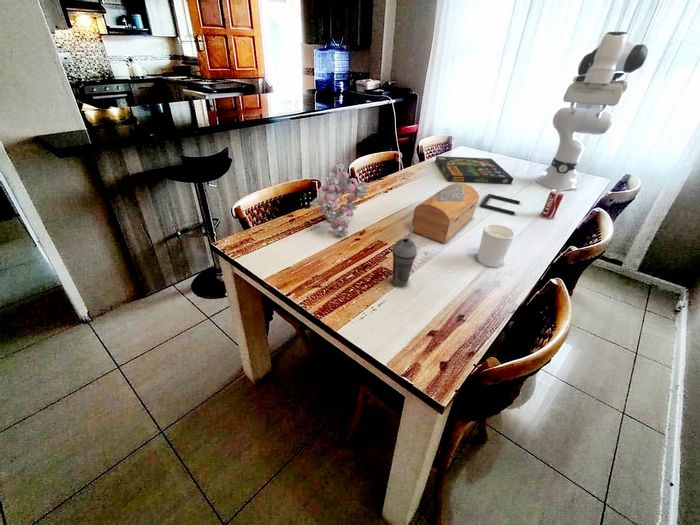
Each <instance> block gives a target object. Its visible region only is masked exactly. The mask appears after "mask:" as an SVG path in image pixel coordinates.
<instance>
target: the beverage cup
mask: <svg viewBox="0 0 700 525" xmlns="http://www.w3.org/2000/svg"><path fill="white" fill-rule="evenodd" d="M412 234H413V226H412V225H411V229H410V232H409V235H408V238H401V239H399V240H398V241H396V242H395V244H394V246H393V247H392V284H393V285H394V286H395V287H398V288H405V287H406V286H407V285H408V282H409V279H410V276H411V272H412V268H413V265H414V261H415V259H416V257H417V255H418V249H417V245H416V244H415V243H414V241H413V240H411V238H412Z"/></svg>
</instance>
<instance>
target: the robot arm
mask: <svg viewBox="0 0 700 525" xmlns="http://www.w3.org/2000/svg"><path fill="white" fill-rule="evenodd" d="M628 36H629V33H628V32H626V31H608V32H606V33H605V34H604V35H603V37H602V39H601V41H600V42H599V44H598V46H597V47H596V48H595V49H593V50H592V52H590V53H587V54H586V55H585V56H583V58H582V59H581V60H580V61H579V63H578V65H577V74H578V75H576V76H574V77H573V78H572V83H571V84H569V86H568V87H567V89H566V90H565V93H564V95H563V98H562V100H563V102H565V103H570V104H569V105H570V106H569V107H561V108H560V109H558V110H557V111H556V112H555V114H554V116H553V117H552V126H553V128H554V129H555V130H556V132H557V133H558V137H559V144H558V148H557V150H556V153H555V155H554V157H553V158H552V161H551V164H550V166H548V167H546V168H545V170H544V172H543V175H542V176H541V177H540V178H538V179H537V180H536V181H537V183H538V184H541V185H543V187H544V186H545V187H547V188H548V189H552V190H560V191H569V190H570V191H572V190H574V191H575V190H576V186H575V184H576V183H577V180H576V178H577V175H578V173H577V171H576V169H577V168H578V166H579V161H580V159H581V156H582V154H583V151H584V149H585V146H584V144H583V143H582V142H581V140H579V139H578V138H577V137H576V135H575V134H584V135H591V136H601V135H602V136H603V135H606V134H607V133H609V132H610V130H611V129H612V128H613V127H614V124H615V116H614V114H613V113H612V112H610V111H608V109H607V108H608V107H609V106H610V107H617V106H619V105H620V103H621V100H622V98H623V94H624V93H625V92H626V91H627V88H628V85H629V84H628V82H627V81H626V80H624V79H622V78H624V77H625V76H626V74H629V75H631V74H634V73H636V72H637V71H639V70H641V68H642V67H643V65H644V64H645V62H646V61H647V58H648V53H649V49H648V47H647V45H645V44H633V43H631V42H629V41H627V40H628ZM574 106H575V107H574ZM574 183H575V184H574Z"/></svg>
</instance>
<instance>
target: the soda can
mask: <svg viewBox="0 0 700 525" xmlns="http://www.w3.org/2000/svg"><path fill="white" fill-rule="evenodd" d="M563 198H564V191H563V190H557V189H551V191H550V192H549V195H548V196H547V199H546V201H545V204H544V206H543V209H542V210H541V213H540V214H541V217H542V218H545V219H547V220H552V219H554V218H555V216H556V214H557V211H558V209H559V207H560V204H561V202H562V200H563Z"/></svg>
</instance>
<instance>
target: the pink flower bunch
mask: <svg viewBox="0 0 700 525" xmlns="http://www.w3.org/2000/svg"><path fill="white" fill-rule="evenodd" d="M344 169H345V164H344V163H338V164H337V162H334V164H333V165H331V166H329V171H330V172H331V174H332V175H330V176H326V177H325V179H324V181H325V183H326V184H325V185H322V186H321V191H322V192H323V193H324V196H323V197H322V196H321V197H315V198H314V199H313V200H312V201H311V202H310V203H309V206H319V207H317V210H318V212H319V213H321V214H323V215H324V218H326V219H327V220H328V221H329V222H330V225H329V226H330V227H331V228H330V229H332V230H334V233H335V234H336V237H338V236H340V237H341V238H342V239H343V236H345V234H347V235H349V230H348V227H349V219H347V218H346V217H348V218H352V217H354V215H355V213H354V211H355V210H356V209H358V206H356V201H357V198H358V199H360V200H365V199H366V198H365V197H366V196H369V195H368V188H369V185H368V184H367V183H366V182H365V181H361V182H358V180H357V178H355V177H351V178H350V173H348V172H347V171H344ZM342 176H343V177H344V178H345V179H346V180H349V181H350V182H352V183H347V184H346V186H345V189H343V190H342ZM349 178H350V179H349ZM338 183H339V184H340V185H338ZM346 191H347V192H349V193H350V194H349V195H348V196H346V200H347V201H346V204H344V203H343V204H340V205H339V201H338V200H337V199H339V198H342V197H343V193H344V192H346ZM325 192H326V193H325ZM371 192H372V190H370V191H369V193H371ZM364 196H365V197H364ZM335 209H336V210H335Z"/></svg>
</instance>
